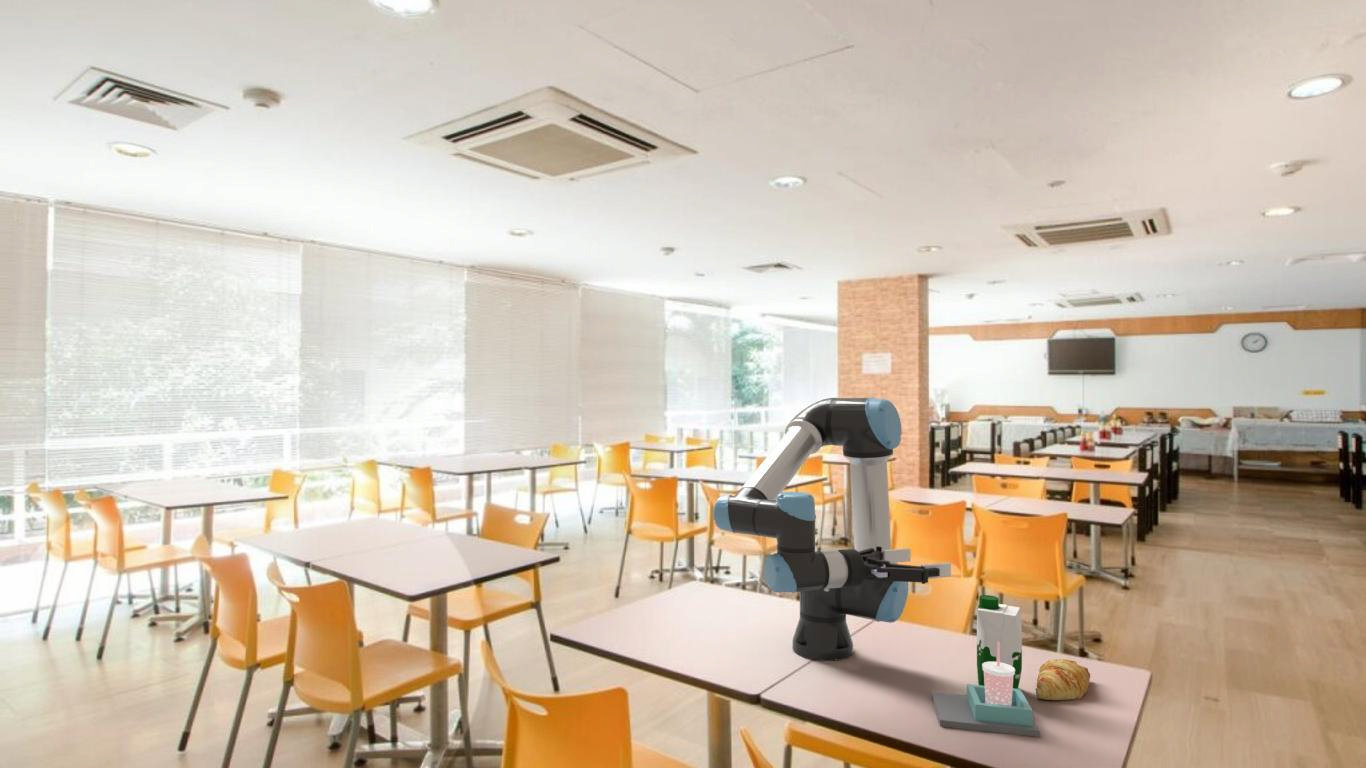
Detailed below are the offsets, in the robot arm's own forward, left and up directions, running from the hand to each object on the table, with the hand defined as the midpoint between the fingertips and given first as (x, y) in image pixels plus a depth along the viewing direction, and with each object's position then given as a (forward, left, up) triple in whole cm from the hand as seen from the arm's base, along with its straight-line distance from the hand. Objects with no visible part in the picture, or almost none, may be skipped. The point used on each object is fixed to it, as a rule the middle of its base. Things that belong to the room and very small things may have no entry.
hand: (928, 561), depth 151 cm
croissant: (+30, +15, -30) cm, 45 cm away
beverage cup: (+13, -4, -29) cm, 32 cm away
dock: (+10, -3, -30) cm, 32 cm away
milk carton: (+16, +12, -30) cm, 36 cm away
